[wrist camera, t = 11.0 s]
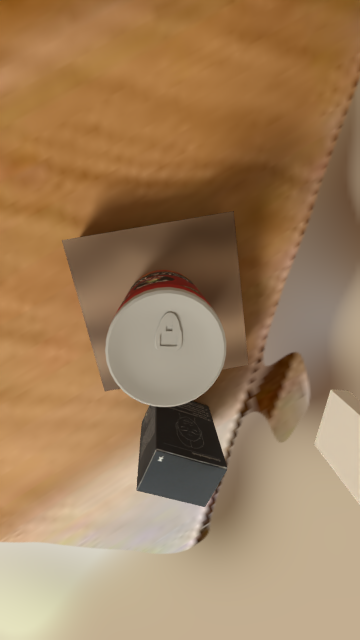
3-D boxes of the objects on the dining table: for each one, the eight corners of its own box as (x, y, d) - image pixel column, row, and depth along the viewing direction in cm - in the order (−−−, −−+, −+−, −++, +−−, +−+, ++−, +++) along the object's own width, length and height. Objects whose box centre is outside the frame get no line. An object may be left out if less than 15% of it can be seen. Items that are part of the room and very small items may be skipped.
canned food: (193, 260, 26) (216, 275, 15) (207, 336, 28) (236, 394, 18) (115, 278, 26) (85, 305, 15) (136, 352, 28) (123, 420, 18)
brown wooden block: (77, 240, 29) (61, 240, 24) (221, 215, 30) (233, 211, 25) (112, 369, 34) (104, 391, 29) (235, 347, 34) (248, 364, 30)
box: (141, 422, 37) (134, 492, 27) (156, 388, 35) (155, 447, 25) (193, 438, 38) (205, 510, 28) (210, 405, 37) (229, 469, 27)
